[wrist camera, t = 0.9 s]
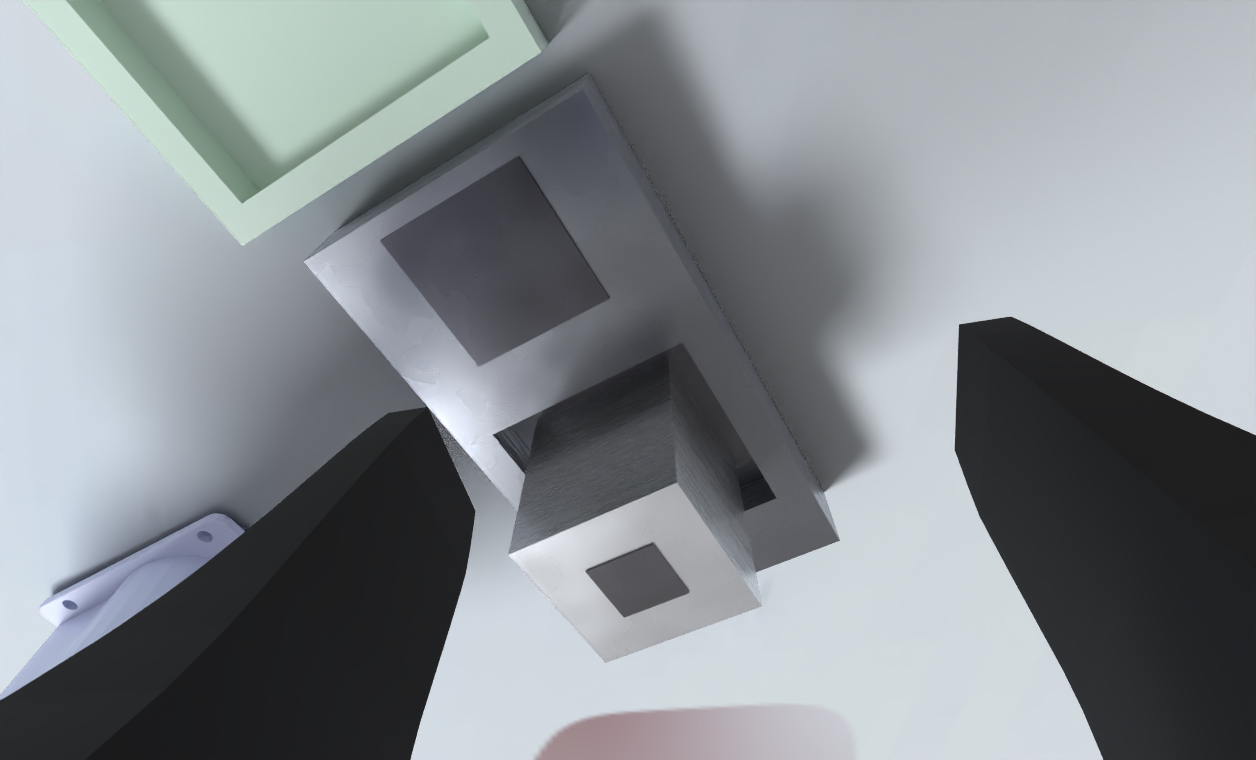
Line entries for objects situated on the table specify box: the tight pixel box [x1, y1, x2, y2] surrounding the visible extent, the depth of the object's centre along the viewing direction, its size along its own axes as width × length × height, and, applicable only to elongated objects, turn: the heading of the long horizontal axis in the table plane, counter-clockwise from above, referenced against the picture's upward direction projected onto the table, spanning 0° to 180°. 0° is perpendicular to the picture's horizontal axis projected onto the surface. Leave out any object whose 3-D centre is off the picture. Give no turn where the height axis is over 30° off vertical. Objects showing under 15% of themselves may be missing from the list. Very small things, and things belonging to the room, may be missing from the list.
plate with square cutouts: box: [304, 73, 840, 572], centre depth 21 cm, size 8×15×2 cm, turn 30°
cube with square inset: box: [508, 356, 762, 663], centre depth 19 cm, size 4×4×6 cm
